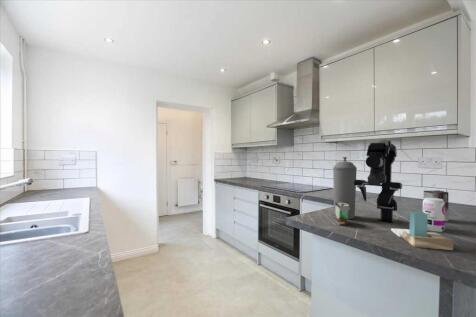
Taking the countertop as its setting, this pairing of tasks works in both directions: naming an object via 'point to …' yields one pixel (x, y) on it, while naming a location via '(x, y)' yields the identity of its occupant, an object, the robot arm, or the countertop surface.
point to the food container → (341, 213)
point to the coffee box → (439, 195)
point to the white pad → (399, 231)
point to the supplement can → (434, 213)
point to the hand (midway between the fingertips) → (376, 202)
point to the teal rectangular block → (418, 224)
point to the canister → (345, 185)
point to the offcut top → (434, 235)
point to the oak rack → (429, 242)
